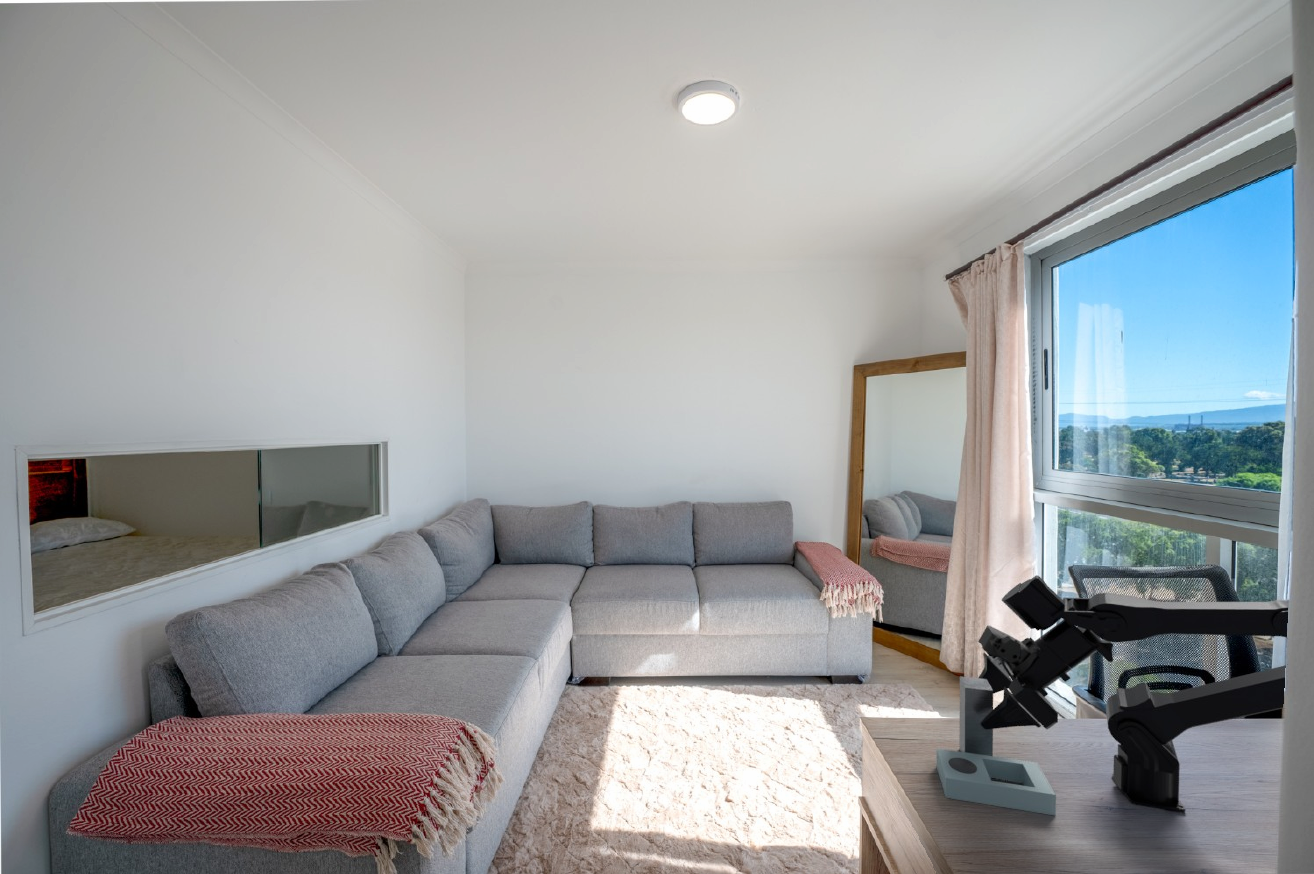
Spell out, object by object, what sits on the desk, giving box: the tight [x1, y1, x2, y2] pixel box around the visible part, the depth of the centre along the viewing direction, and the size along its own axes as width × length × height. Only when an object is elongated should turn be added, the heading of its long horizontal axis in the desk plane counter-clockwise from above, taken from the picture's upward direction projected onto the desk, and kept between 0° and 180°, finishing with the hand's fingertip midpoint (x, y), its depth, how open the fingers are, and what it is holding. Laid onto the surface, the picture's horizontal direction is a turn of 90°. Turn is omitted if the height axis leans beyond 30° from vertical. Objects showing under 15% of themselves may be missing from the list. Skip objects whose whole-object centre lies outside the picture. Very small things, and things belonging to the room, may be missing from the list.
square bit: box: [958, 676, 994, 756], centre depth 93 cm, size 4×4×12 cm
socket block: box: [936, 748, 1057, 817], centre depth 86 cm, size 14×8×3 cm, turn 73°
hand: (975, 711), depth 93 cm, fingers open, 9 cm apart
